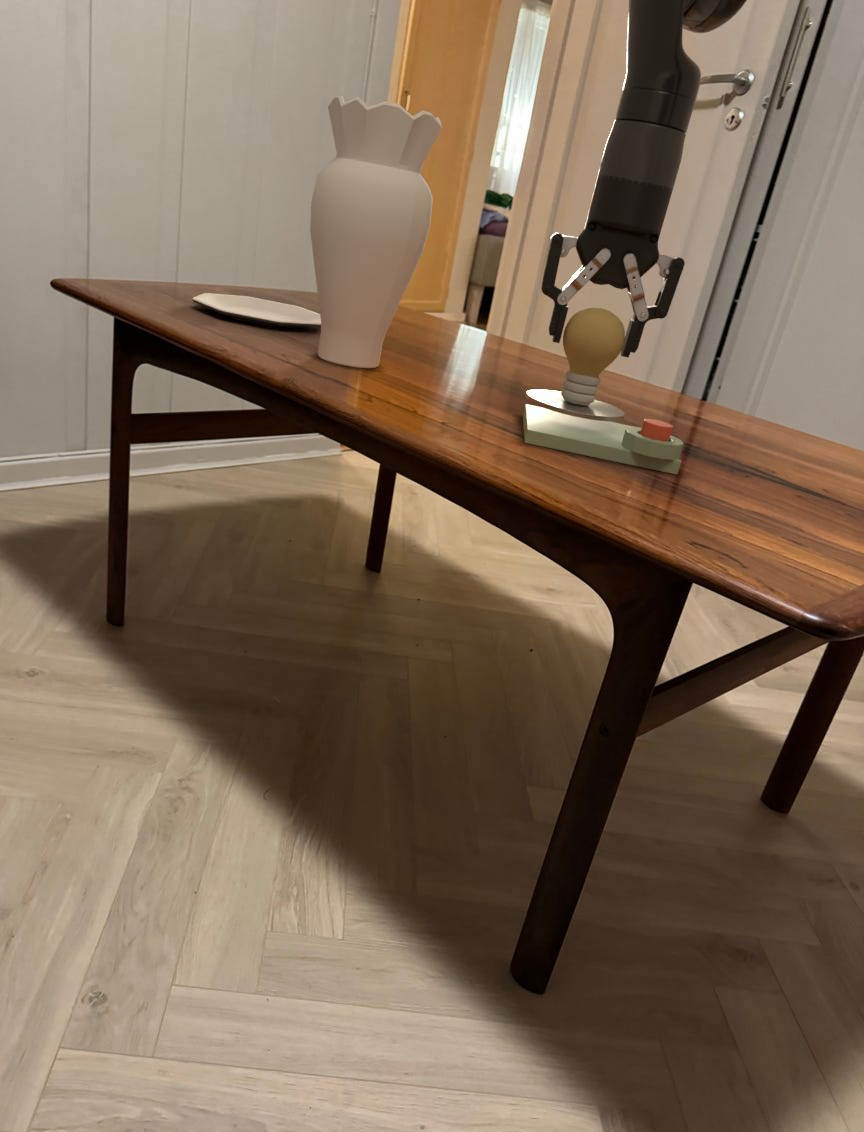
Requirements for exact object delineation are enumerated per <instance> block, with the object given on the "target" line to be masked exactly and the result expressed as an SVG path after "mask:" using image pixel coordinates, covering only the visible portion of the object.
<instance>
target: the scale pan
mask: <svg viewBox="0 0 864 1132" xmlns="http://www.w3.org/2000/svg"><path fill="white" fill-rule="evenodd" d="M525 399H526V400H527V401H529V402H530V403H532V404H534V405H535V406H538V407H543V408H546V409H549V410H552V411H555V412H559V413H562V414H566V415H570V416H575V417H579V418H585V419H590V420H598V421H610V422H620V421H623V420H624V418H625V415H626V414H625V412H624V411H623V410H622V409H621V408H618V407H617V406H615V405H612V404H610V403H607V402H604V401H601V400H598V399H595V400H594V402H593V403H591V404H590V405H587V406H584V405H576V404H572V403H569V402H567V401H565V400H564V399H563V397H562V396H561V391H558V390H551V389H550V390H549V389H529V390H527V391H526V393H525Z"/></svg>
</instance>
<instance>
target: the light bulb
mask: <svg viewBox="0 0 864 1132" xmlns="http://www.w3.org/2000/svg"><path fill="white" fill-rule="evenodd" d="M625 335H626V331H625V326H624V324H623V321H622V320H621V319H620V318H619V316H617V314H615V313H614V312H612V311H610V310H608V309H605V308H602V307H588V308H584V309H581V310H579V311H577V312H575V313H573V315H572V316H571V317H570V318H569V320H568V321H567V323H566V325H565V326H564V329H563V333H562V347H563V351H564V353H565V356H566V359H567V363H568V365H569V369H568V370H567V371H566V373H565V379H564V381H563V384H562V386H563V388H562V389H561V391H560V392H561V396H562V397H563V399H564V400H565V401H567V402H569V403H572V404H576V405H584V406H587V405H590V404H591V403H593V402H594V400H596V394H597V393H598V389H599V388H598V386H599V385H600V382H601V377H600V375H601V373H603V371H604V370H606V369H607V368H608V367H609V366H610V365H611V364H612V363H613V362H615V360H616V359H617V358H618V356H619V355H621V350H622V347H623V345H624V340H625Z"/></svg>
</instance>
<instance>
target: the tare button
mask: <svg viewBox="0 0 864 1132" xmlns="http://www.w3.org/2000/svg"><path fill="white" fill-rule="evenodd" d="M641 428H642V429H641V432H640V435H642V436H644V437H648V438H651V439H655V440H660V441H668V442H669V439H670V435H671V436H672V432H673V428H674V426H673V425H672V424H671V423H668V422H665V421H662V420H660V419H654V418H645V419H644V420H643V422H642V426H641Z"/></svg>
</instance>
